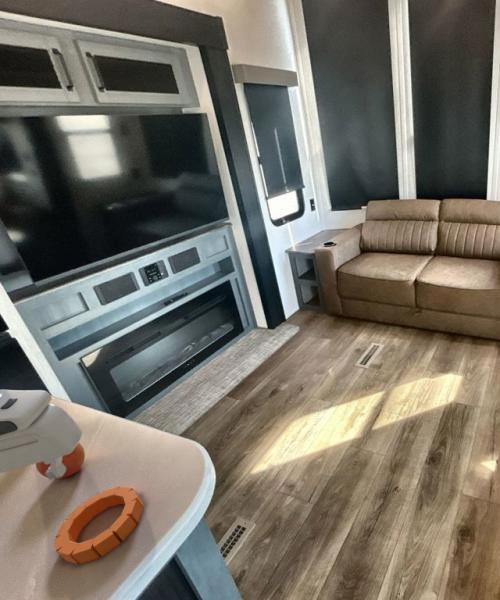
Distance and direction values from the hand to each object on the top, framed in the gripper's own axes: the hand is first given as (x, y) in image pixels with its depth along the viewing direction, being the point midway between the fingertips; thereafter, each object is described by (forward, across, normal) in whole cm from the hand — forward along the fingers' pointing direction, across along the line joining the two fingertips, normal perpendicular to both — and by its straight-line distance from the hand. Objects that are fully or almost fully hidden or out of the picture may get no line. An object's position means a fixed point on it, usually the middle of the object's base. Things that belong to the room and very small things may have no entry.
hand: (25, 484), depth 57 cm
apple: (+15, -8, +17) cm, 24 cm away
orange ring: (+15, +5, 0) cm, 15 cm away
